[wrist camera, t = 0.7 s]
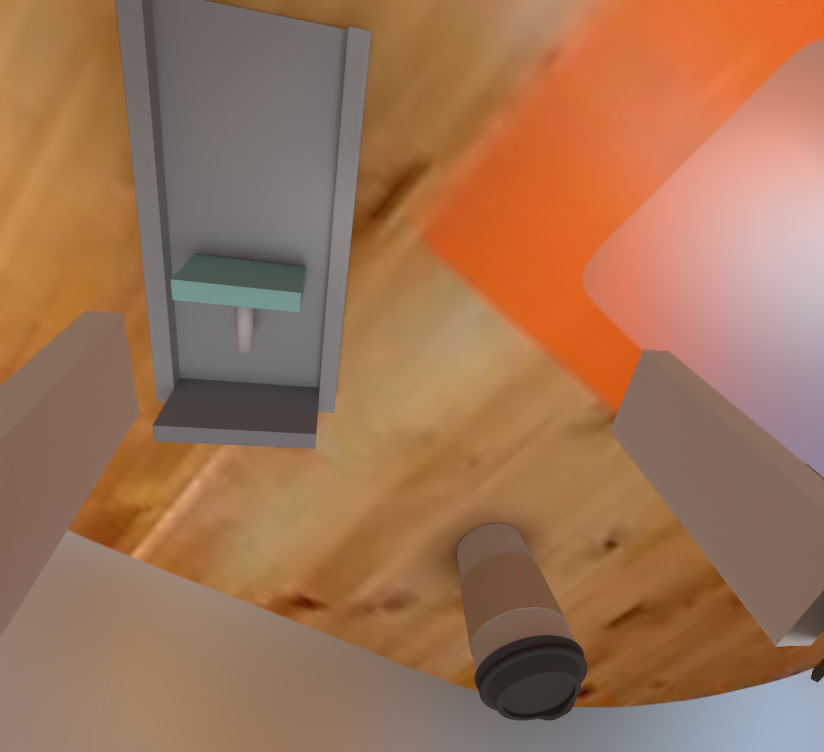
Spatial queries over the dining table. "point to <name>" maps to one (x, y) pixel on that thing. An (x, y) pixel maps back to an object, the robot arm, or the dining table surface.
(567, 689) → the coffee cup
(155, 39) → the lane
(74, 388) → the robot arm
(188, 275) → the pusher
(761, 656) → the dining table surface
